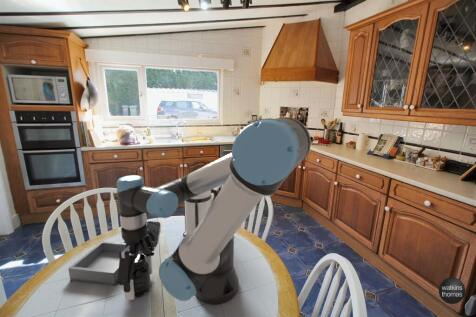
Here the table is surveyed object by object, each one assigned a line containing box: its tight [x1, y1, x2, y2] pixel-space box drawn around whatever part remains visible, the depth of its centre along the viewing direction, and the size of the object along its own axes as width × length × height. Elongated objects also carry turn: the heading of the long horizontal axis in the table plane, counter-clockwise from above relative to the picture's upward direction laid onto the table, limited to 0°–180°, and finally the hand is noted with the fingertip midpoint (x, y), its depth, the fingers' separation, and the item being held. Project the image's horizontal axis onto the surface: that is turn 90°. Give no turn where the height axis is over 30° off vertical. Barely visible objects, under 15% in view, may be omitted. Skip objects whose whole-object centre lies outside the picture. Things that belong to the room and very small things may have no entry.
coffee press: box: [182, 188, 219, 238], centre depth 110 cm, size 17×16×30 cm
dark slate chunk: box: [123, 220, 161, 248], centre depth 111 cm, size 15×22×5 cm
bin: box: [68, 240, 142, 287], centre depth 89 cm, size 17×17×5 cm
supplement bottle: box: [131, 253, 152, 298], centre depth 77 cm, size 7×7×12 cm
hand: (139, 284), depth 78 cm, fingers open, 11 cm apart
